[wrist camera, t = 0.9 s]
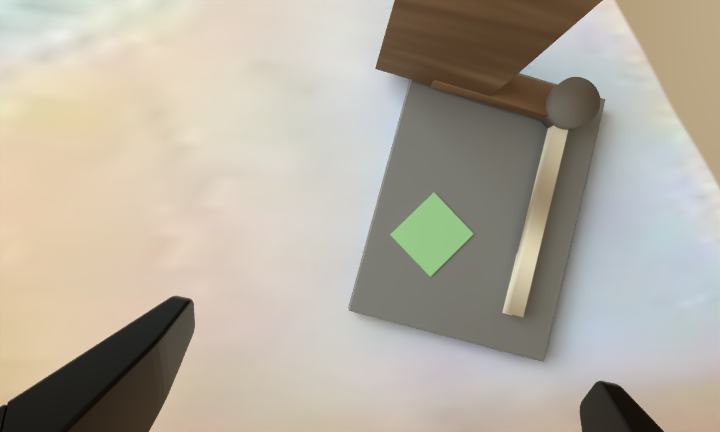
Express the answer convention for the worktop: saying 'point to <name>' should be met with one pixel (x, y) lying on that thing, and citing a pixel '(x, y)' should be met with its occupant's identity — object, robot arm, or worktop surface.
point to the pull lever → (497, 82)
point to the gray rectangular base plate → (468, 222)
